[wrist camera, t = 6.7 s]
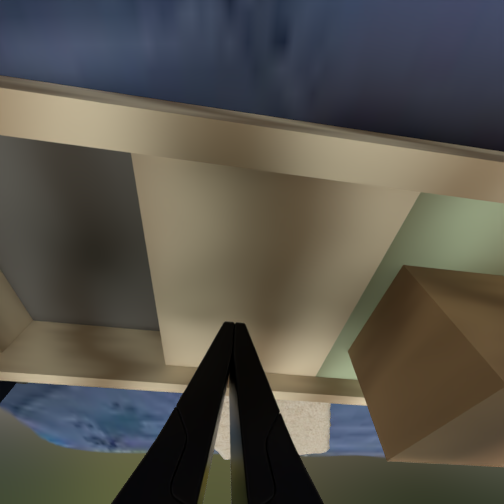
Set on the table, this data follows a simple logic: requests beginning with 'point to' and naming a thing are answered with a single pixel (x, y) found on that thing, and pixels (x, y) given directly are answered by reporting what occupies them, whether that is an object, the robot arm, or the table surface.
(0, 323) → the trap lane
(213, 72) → the table surface
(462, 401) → the walnut block
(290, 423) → the washcloth
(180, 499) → the robot arm
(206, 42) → the table surface
